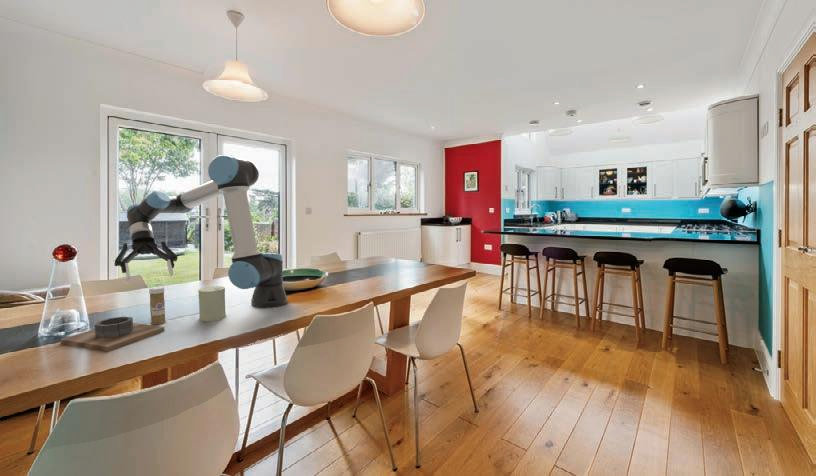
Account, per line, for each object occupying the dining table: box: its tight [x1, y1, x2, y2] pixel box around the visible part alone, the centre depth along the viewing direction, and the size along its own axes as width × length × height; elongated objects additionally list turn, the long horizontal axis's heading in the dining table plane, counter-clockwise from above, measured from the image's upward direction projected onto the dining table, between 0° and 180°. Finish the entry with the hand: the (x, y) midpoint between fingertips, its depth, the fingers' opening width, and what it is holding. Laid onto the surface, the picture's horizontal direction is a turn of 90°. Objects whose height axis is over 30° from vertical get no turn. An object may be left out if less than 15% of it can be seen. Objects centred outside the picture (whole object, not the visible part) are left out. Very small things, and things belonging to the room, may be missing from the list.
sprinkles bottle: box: [148, 286, 167, 326], centre depth 128 cm, size 5×5×14 cm
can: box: [198, 285, 227, 322], centre depth 135 cm, size 9×9×12 cm
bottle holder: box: [59, 316, 165, 352], centre depth 113 cm, size 20×18×6 cm
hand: (150, 276), depth 134 cm, fingers open, 13 cm apart
